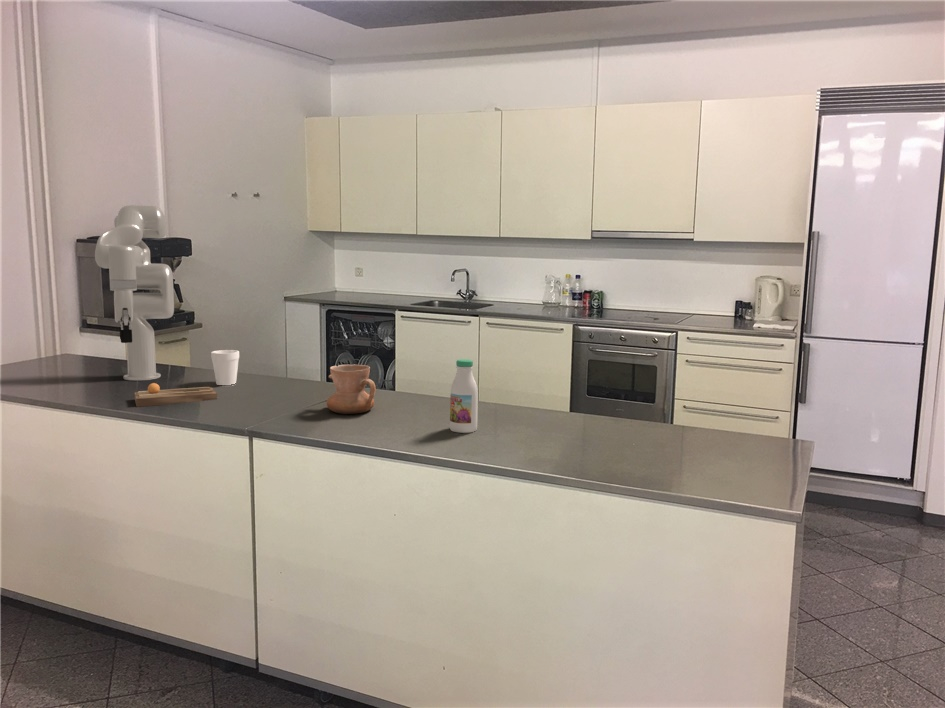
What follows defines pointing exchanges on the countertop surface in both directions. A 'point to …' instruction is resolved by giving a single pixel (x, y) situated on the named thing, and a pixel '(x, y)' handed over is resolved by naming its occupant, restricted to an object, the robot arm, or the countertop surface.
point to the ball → (153, 388)
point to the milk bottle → (464, 399)
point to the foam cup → (225, 366)
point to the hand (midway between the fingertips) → (126, 340)
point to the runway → (174, 396)
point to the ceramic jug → (351, 389)
